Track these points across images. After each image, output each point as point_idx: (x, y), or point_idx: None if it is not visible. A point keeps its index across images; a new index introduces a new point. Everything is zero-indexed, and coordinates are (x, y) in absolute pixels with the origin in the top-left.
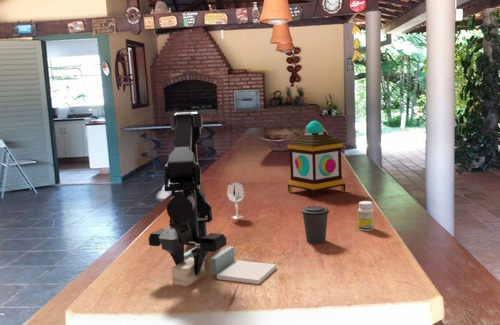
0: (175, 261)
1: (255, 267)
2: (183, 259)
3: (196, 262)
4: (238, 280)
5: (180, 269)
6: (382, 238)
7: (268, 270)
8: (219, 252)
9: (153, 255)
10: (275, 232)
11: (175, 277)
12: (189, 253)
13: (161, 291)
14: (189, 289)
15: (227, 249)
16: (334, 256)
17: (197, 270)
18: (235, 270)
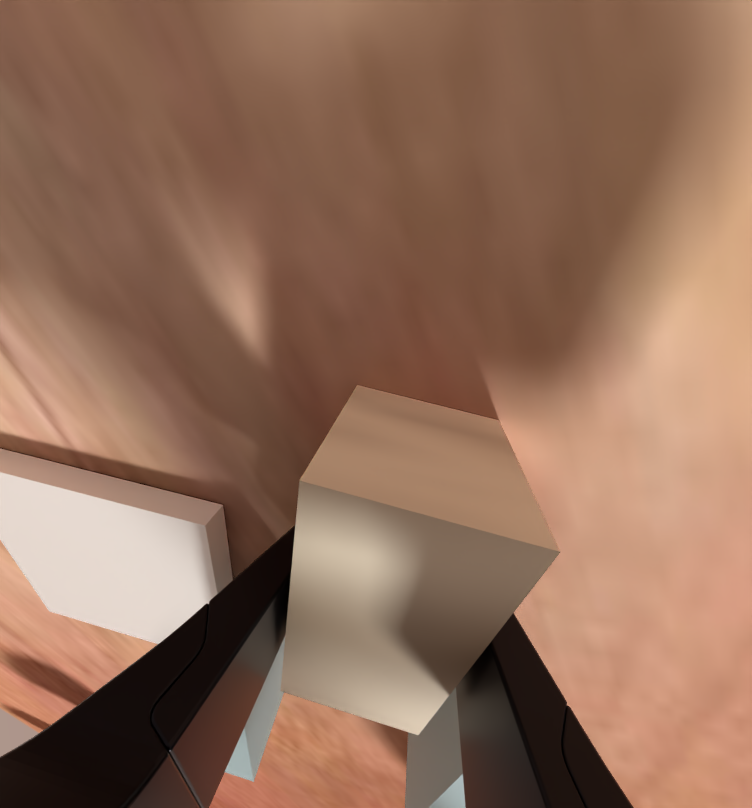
0: (544, 695)
1: (96, 594)
2: (461, 717)
3: (208, 625)
4: (83, 476)
5: (394, 500)
6: (11, 705)
7: (20, 563)
8: (247, 743)
9: (737, 783)
10: (272, 787)
11: (476, 448)
12: (458, 781)
13: (583, 214)
14: (304, 319)
15: (231, 759)
16: (3, 646)
17: (278, 541)
18: (152, 573)
